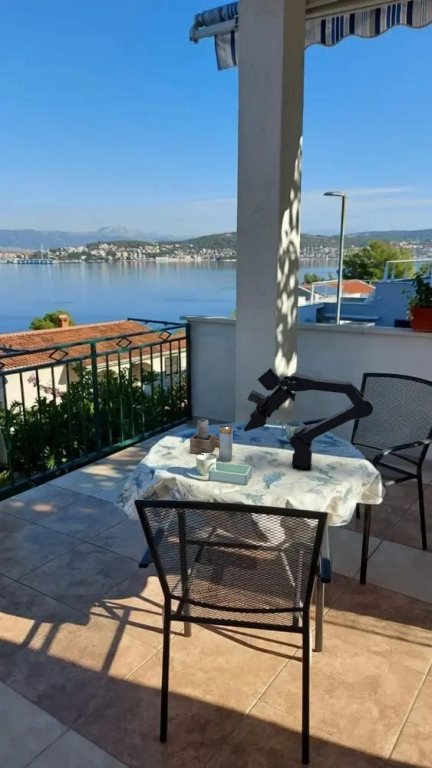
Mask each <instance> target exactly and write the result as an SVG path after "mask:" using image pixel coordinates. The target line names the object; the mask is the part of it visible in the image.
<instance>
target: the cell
mask: <svg viewBox="0 0 432 768" xmlns="http://www.w3.org/2000/svg"><path fill="white" fill-rule="evenodd" d="M218 429H219V430H218V431H219V432H218V435H219V436H218V437H219V448H218V462H222V463H230V462H232V461H233V438H234V437H233V436H234V435H233V432H234V430H233V429H234V426H233V425H232V424H228V423H224V424H221V425H219V427H218Z"/></svg>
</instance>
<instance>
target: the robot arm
mask: <svg viewBox="0 0 432 768" xmlns="http://www.w3.org/2000/svg"><path fill="white" fill-rule="evenodd" d="M256 380H257V382H258V383H259V384H260V385H261V386H262V387H263V388H264V389H265V390H266V392H267V391H271V393H270V394H267V396H266V395H264V394H262V393H260V392H259V391H257V390H254V389H252V390H250V393H249V395H248V397H247V399H246V400H247V401H248V402H251V403H254V404H255V405H256V406H255V409H253V411H252V412H251V413H250V414H249V417H250V419H249V421H248V422H247V424H246V425H245V427H244V428H243V431H244V432H249V431H252V430H254V429H255V430H256V429H259V428H263V427H264V426H266V425H267V423H268V418H271V417H272V415H273V414H274V413H275V412H276V411H278V410H279V409H280V408H281V407H282V406H283V405H284V404H285V403H286V402H287V401H288V400H289V399H291V400H292V401H293V402H295V401H296V399H297V397H296V395H297V392H307V391H318V392H329V393H335V394H336V393H337V394H344V395H346V396H347V397H348V400H349V401H350V402H351V403H350V404H349V405H348V406H347V408H345V409H343V410H342V411H339V412H337V413H335V414H333V415H331V416H330V417H327V418H325V419H323V420H321V421H319V422H318V423H316V424H314V425H311V426H306V424H305V423H304V424H303V425H301V426H299V427H295V429H294V430H293V432H292V434H291V435H290V436H291V437H290V438H289V445H290V446H291V448H292V449H293V450H294V452H293V453H292V459H291V461H292V462H291V465H292V469H293V470H298V469H305V470H304V471H307V470H312V467H311V466H312V465H313V463H312V462H313V450H312V447H313V441H314V440H315V439H316V438H318V437H320V436H322V435H324V434H326V433H328V432H330V431H331V430H333V429H336V428H338V427H340V426H341V425H344V424H346V423H348V422H350V421H353V420H360V419H364V418H366V417H369V416H370V415H372V413H373V411H374V407H373V405H374V404H373V401H372V400H371V398H369V397H368V396H365V395H364V394H363V393H362V392H361V391H360V390H359V389H358V388H357V387H356V385H355V384H354V383H353V382H352V381H343V380H334V379H325V378H315V377H312V376H309V375H307V374H303V373H299V372H294V373H293V372H292V373H291V374H290V375H285V376H279V375H278V374H277V373H276V372H275V370H274V369H273V368H272V367H269V368H268V369H267V370H266V371H264V372H263V373H261V375H260V376H259V377H258V378H257V379H256ZM274 389H275V390H274Z"/></svg>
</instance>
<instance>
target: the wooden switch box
mask: <svg viewBox="0 0 432 768" xmlns="http://www.w3.org/2000/svg"><path fill="white" fill-rule="evenodd" d="M215 448H218V449H219V436H215Z"/></svg>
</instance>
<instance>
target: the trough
mask: <svg viewBox="0 0 432 768" xmlns="http://www.w3.org/2000/svg"><path fill="white" fill-rule="evenodd" d="M215 462H216V470H217V471H214V467H212V466H211V467H210V469H208V481H210V482H211V481H212V482H218V483H227V484H228V483H229V484H234V485H241V486H242V485H243V486H247V485H248V482H249V481H250V479H251V477H252V475H253V473H252V472H253V471H252V470H253V466H252V465H246V464H238V463H230V462H221V461H215Z"/></svg>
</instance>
